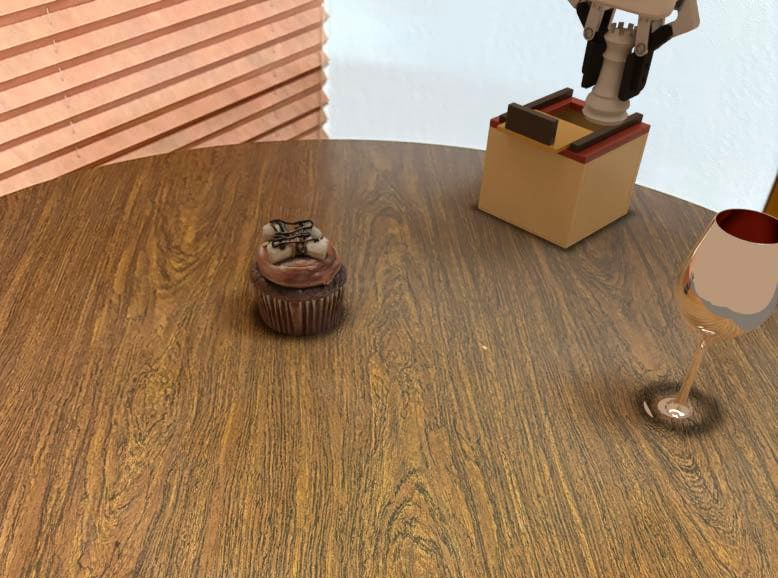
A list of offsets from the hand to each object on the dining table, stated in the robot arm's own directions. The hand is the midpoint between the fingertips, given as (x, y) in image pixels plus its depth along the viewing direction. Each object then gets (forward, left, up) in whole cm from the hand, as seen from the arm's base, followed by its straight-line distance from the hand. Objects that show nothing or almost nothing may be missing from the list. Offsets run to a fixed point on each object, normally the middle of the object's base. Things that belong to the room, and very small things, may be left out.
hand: (610, 88), depth 82 cm
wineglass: (+14, +22, -19) cm, 32 cm away
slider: (-4, -9, -8) cm, 13 cm away
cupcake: (+29, -13, -19) cm, 37 cm away
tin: (-9, -9, -19) cm, 23 cm away
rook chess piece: (0, 0, -3) cm, 3 cm away
